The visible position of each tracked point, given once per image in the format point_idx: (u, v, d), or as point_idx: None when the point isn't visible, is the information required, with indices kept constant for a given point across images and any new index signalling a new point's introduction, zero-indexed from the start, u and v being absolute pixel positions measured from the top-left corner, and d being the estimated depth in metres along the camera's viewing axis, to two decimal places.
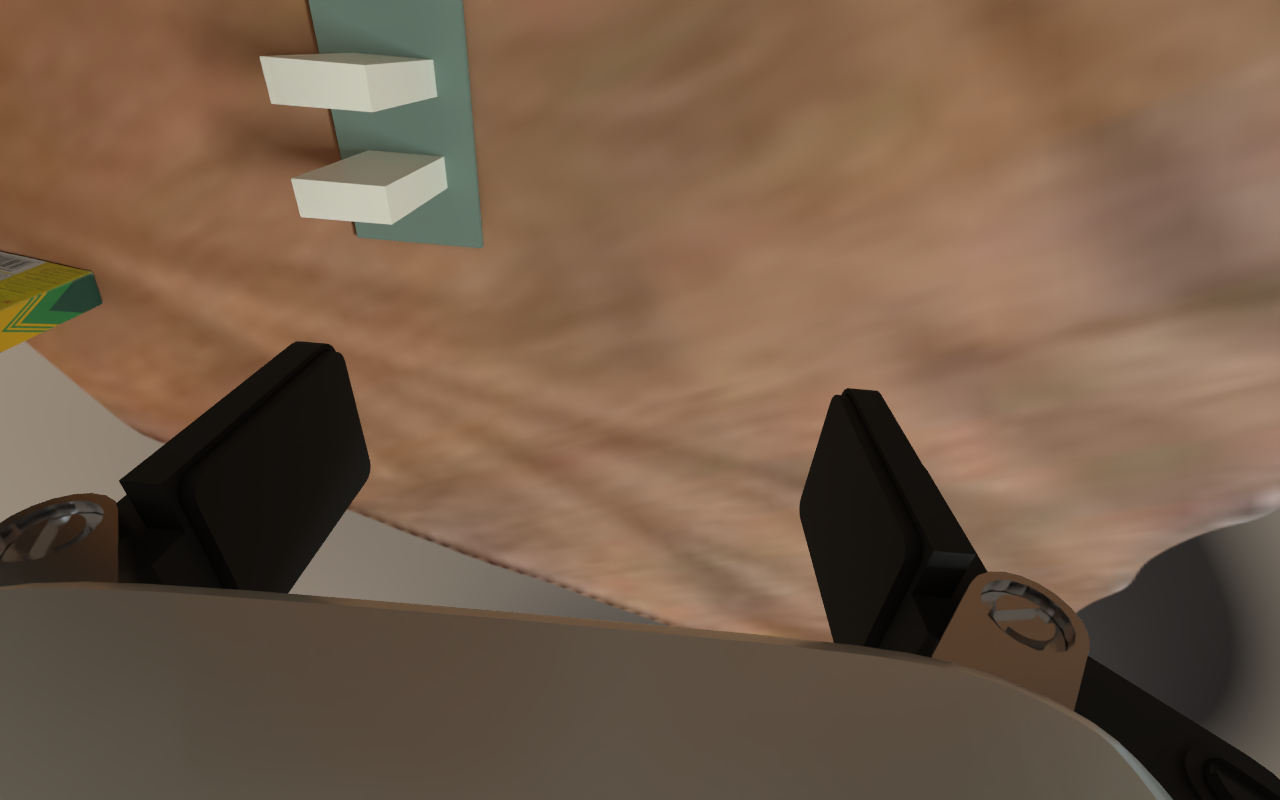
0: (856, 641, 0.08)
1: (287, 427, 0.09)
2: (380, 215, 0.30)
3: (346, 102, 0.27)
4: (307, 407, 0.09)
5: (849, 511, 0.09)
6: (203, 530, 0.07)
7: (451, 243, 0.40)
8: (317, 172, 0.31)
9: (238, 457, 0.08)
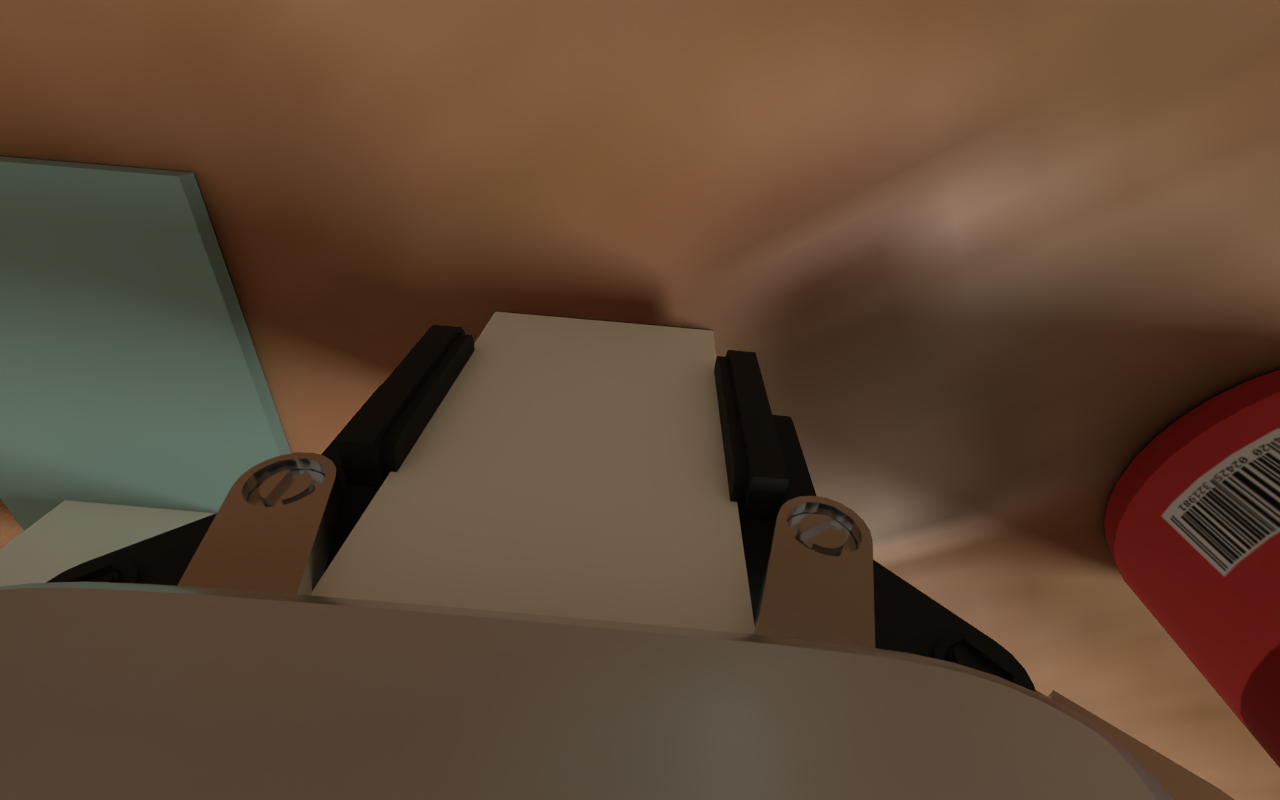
0: None
1: (442, 400, 0.10)
2: None
3: None
4: (452, 383, 0.10)
5: None
6: None
7: None
8: None
9: (416, 424, 0.09)
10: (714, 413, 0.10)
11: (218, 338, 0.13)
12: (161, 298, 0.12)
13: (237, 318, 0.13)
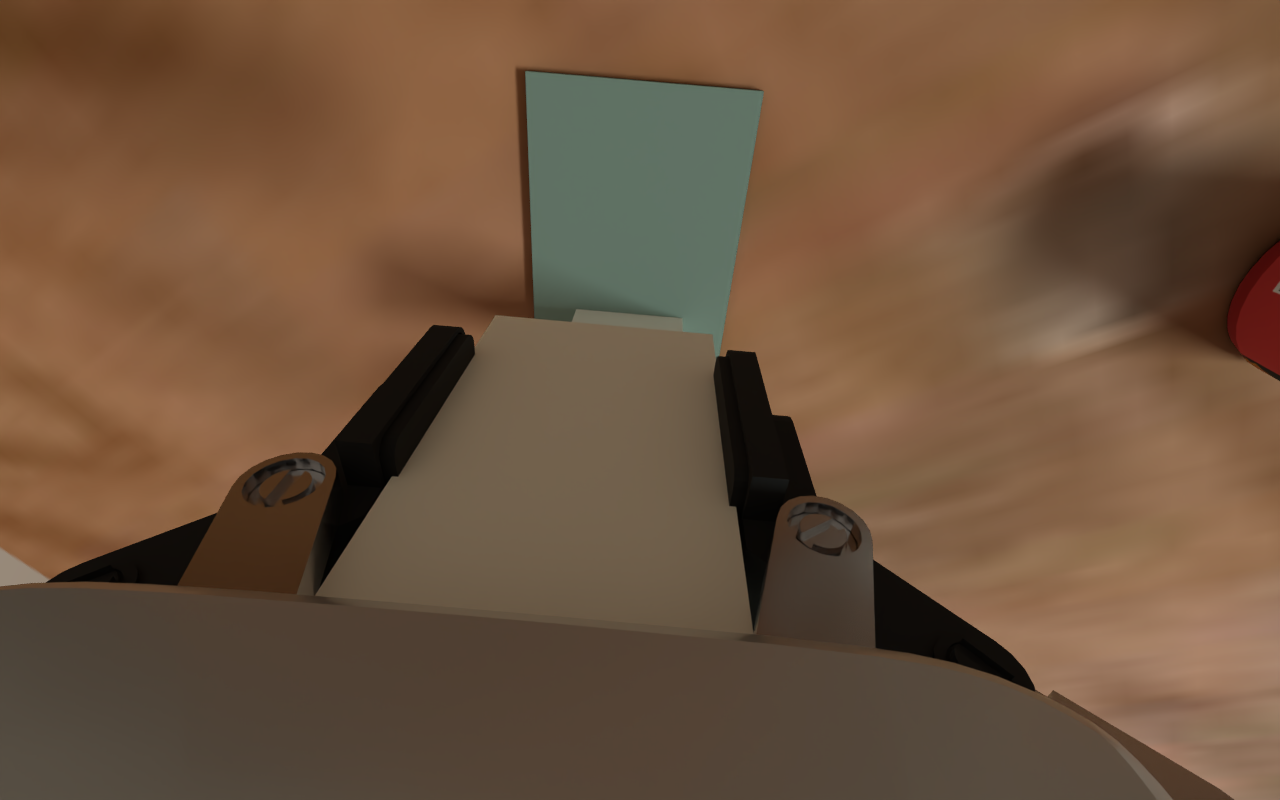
0: None
1: (442, 400, 0.10)
2: None
3: None
4: (453, 383, 0.10)
5: None
6: None
7: None
8: None
9: (416, 424, 0.09)
10: (713, 418, 0.10)
11: (735, 190, 0.23)
12: (715, 165, 0.22)
13: (748, 178, 0.23)
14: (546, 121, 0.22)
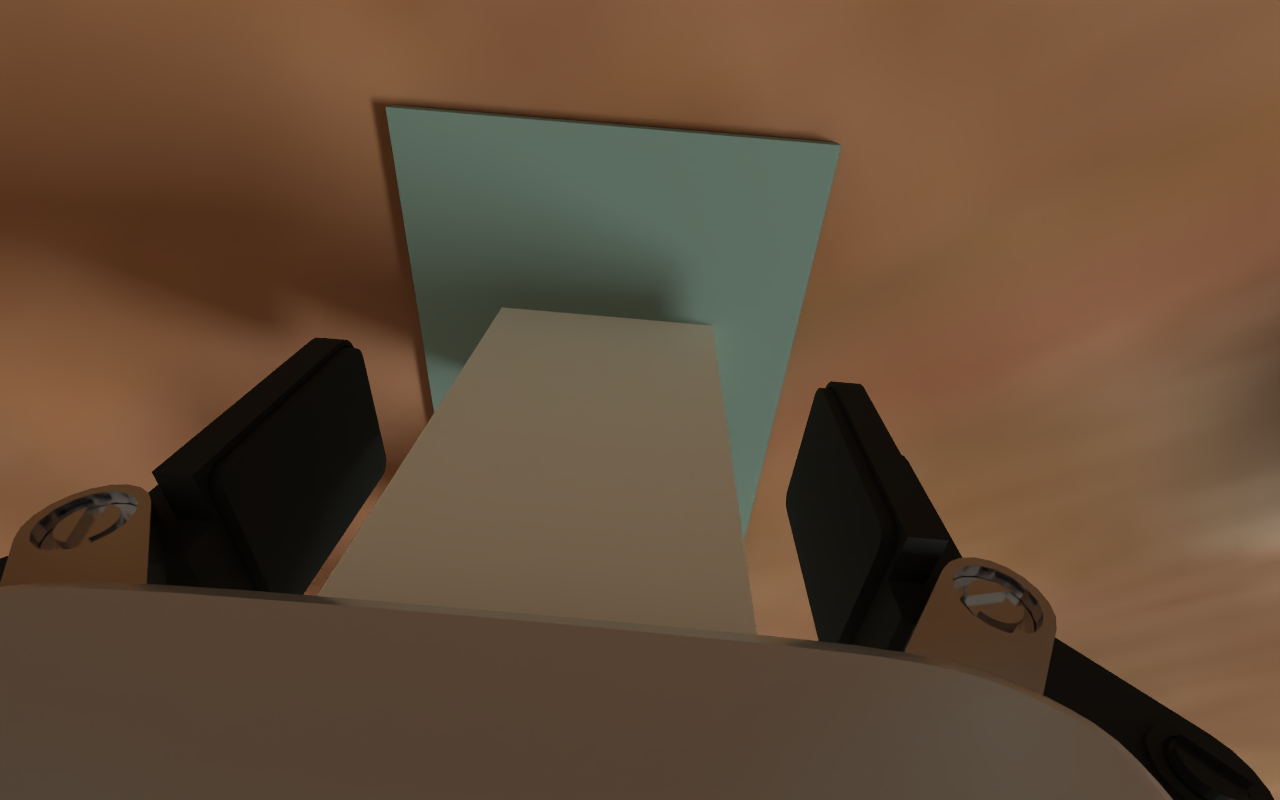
0: (836, 628, 0.08)
1: (309, 421, 0.09)
2: None
3: None
4: (328, 401, 0.09)
5: (831, 501, 0.09)
6: (231, 521, 0.07)
7: None
8: None
9: (264, 450, 0.08)
10: (714, 403, 0.10)
11: (779, 313, 0.13)
12: (744, 272, 0.12)
13: (802, 292, 0.13)
14: (435, 197, 0.12)
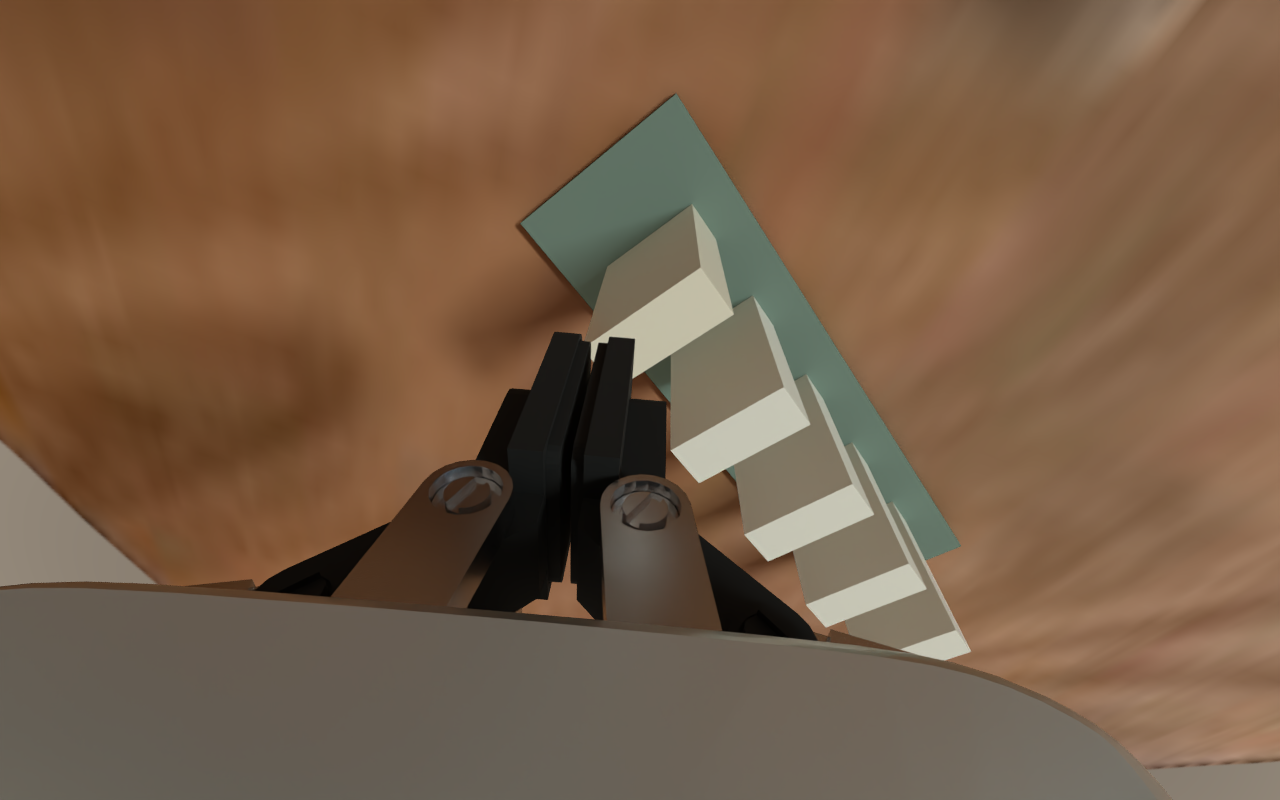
0: None
1: (577, 407, 0.10)
2: (956, 650, 0.27)
3: (898, 594, 0.25)
4: (581, 390, 0.10)
5: None
6: (552, 494, 0.08)
7: (927, 558, 0.36)
8: (857, 630, 0.30)
9: (568, 431, 0.09)
10: (690, 225, 0.23)
11: (714, 175, 0.25)
12: (685, 171, 0.25)
13: None
14: (555, 242, 0.27)
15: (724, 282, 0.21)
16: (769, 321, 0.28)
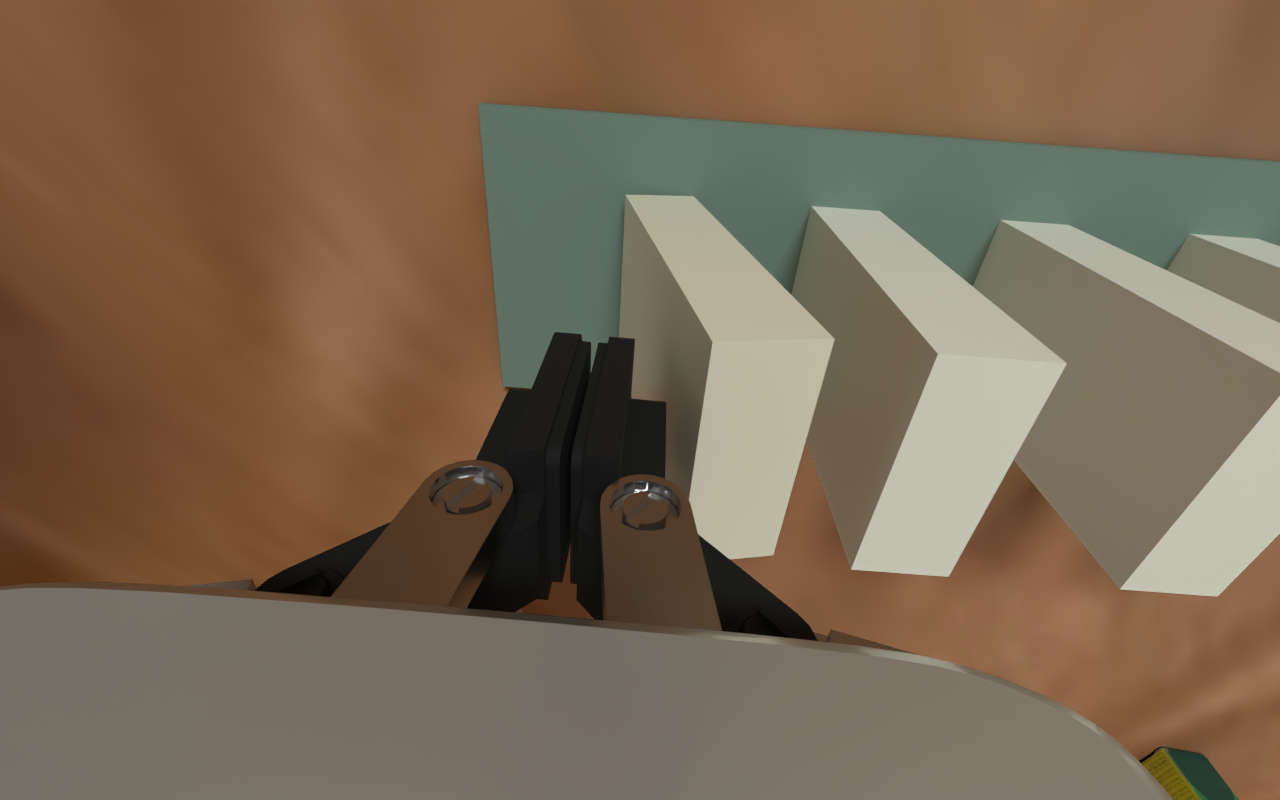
0: None
1: (577, 407, 0.10)
2: None
3: None
4: (581, 390, 0.10)
5: None
6: (553, 494, 0.08)
7: None
8: None
9: (568, 431, 0.09)
10: (646, 238, 0.13)
11: (611, 133, 0.15)
12: (578, 168, 0.16)
13: (595, 112, 0.15)
14: None
15: (763, 276, 0.11)
16: (866, 213, 0.16)
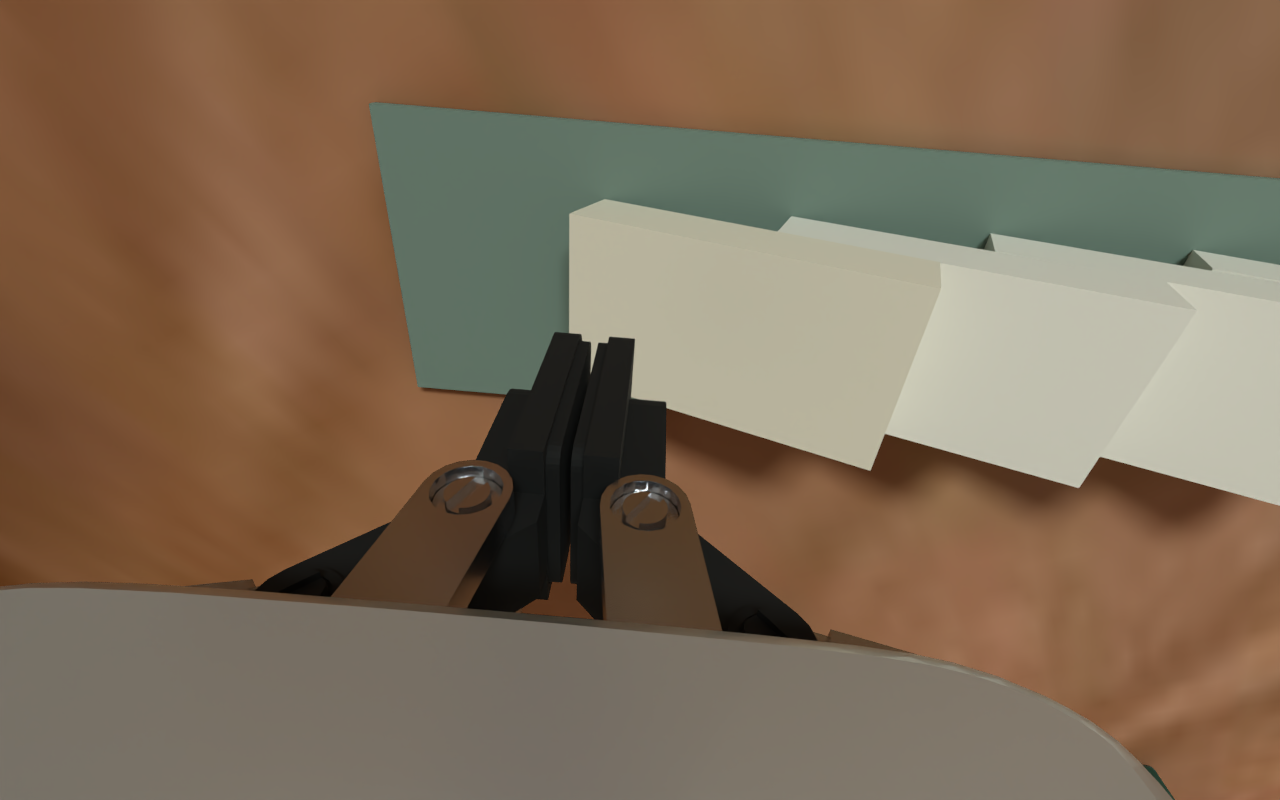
0: None
1: (577, 407, 0.10)
2: None
3: None
4: (581, 390, 0.10)
5: None
6: (553, 494, 0.08)
7: None
8: None
9: (568, 431, 0.09)
10: (690, 245, 0.14)
11: (503, 134, 0.15)
12: (474, 168, 0.16)
13: (487, 112, 0.15)
14: (461, 372, 0.19)
15: (825, 242, 0.14)
16: (804, 222, 0.15)
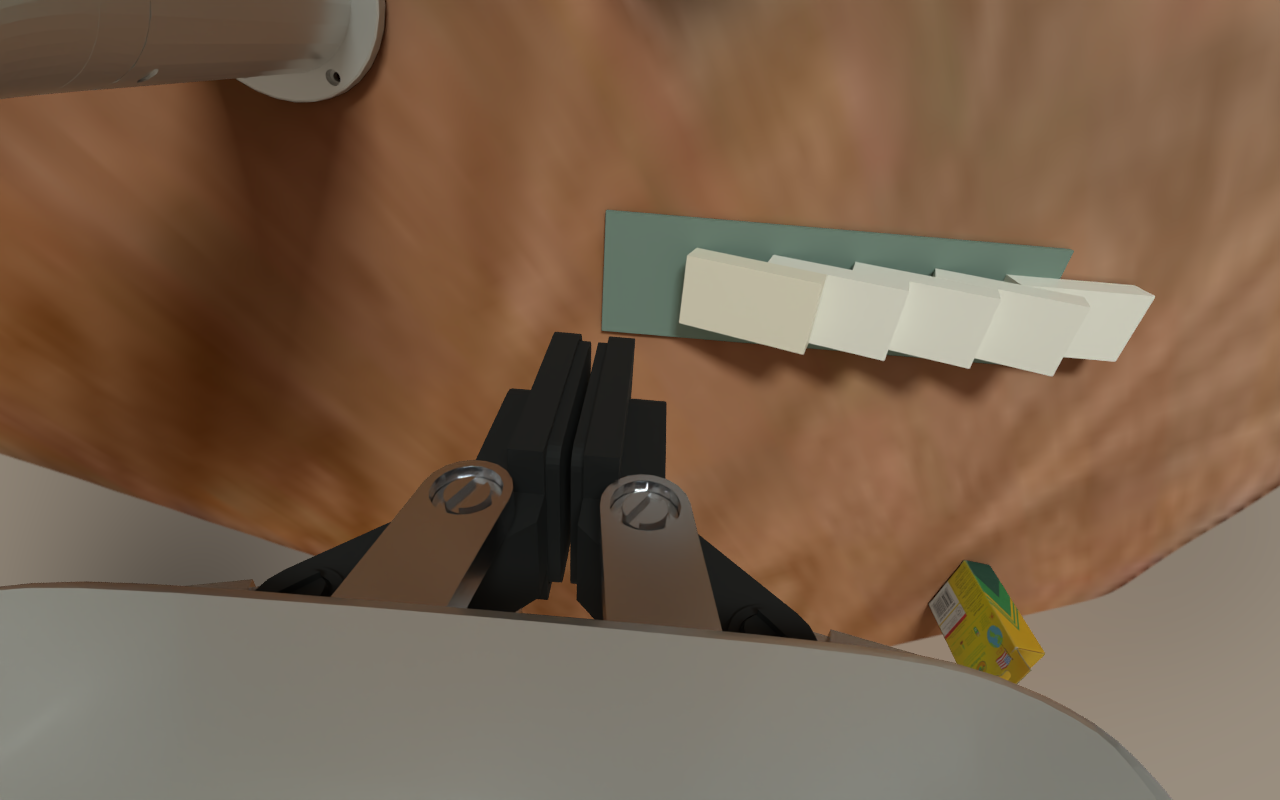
0: None
1: (578, 407, 0.10)
2: None
3: None
4: (582, 390, 0.10)
5: None
6: (553, 494, 0.08)
7: None
8: (1095, 353, 0.40)
9: (568, 431, 0.09)
10: (735, 268, 0.36)
11: (658, 222, 0.38)
12: (644, 235, 0.39)
13: (651, 214, 0.38)
14: (623, 323, 0.42)
15: (785, 266, 0.37)
16: (778, 258, 0.38)
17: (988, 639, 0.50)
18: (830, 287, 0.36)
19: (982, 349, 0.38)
